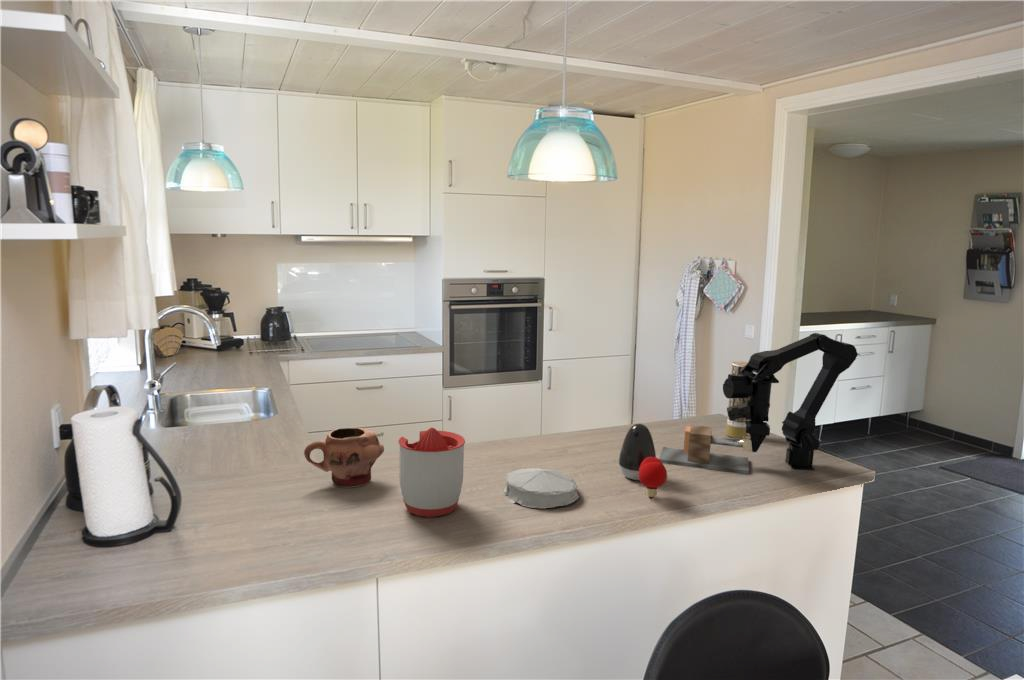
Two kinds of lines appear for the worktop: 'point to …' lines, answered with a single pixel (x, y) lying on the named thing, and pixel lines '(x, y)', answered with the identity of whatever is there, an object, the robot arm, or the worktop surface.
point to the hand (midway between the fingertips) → (754, 449)
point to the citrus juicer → (431, 472)
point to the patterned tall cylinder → (738, 425)
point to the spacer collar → (687, 438)
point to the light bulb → (652, 475)
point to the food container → (540, 488)
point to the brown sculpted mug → (348, 455)
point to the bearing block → (703, 454)
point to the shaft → (734, 442)
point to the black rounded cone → (635, 450)
